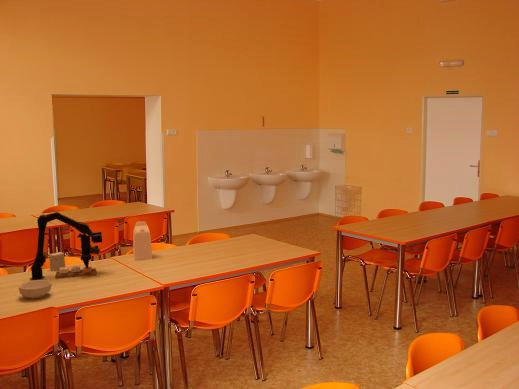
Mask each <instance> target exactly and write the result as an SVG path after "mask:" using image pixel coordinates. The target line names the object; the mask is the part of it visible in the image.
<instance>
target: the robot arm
mask: <svg viewBox="0 0 519 389" xmlns="http://www.w3.org/2000/svg"><path fill="white" fill-rule="evenodd" d="M55 220H58V221H60V222H62V223H64V224H66V225H68V226H70V227H73V228H74V229H76V230H77V231H78V232H79V234H77V238H80V250H81V252H80V253H81V255H80V261H82V263H83V264H84V267H86V268H88V267H89V266H90V265H89V264H90V260H92V255H93V254H96V255H98V256H99V255H100V252H101V248H100V247H99V246H98V245H94V246H92V244H91V242H92V243H93V244H97V243H99V244H100V243H103V234H102V231H97V232H96V231H95V232H94V231H93V230H92V229H91V228H90V225H89V224H88V223H86V222H82V221H77V220H75V219H73V218H70V217H68V216H67V215H64V214H62V213H60V212H59V211H55V212H52V213H48V214H40V215H39V216H38V218H37V228H38V236H37V249H36V253H35V259H34V261H33V263H32V265H31V267H30V269H31V270H30V271H31V278H29V280H30V281H34V280H43V279H44V278H45V277H46V276H44V275H43V268H42V267H43V266H44V265H45V263H46V261H47V254H45V238H46V229H47V225H48V223H49V222H53V221H55Z"/></svg>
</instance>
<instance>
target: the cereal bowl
mask: <svg viewBox="0 0 519 389" xmlns="http://www.w3.org/2000/svg"><path fill="white" fill-rule="evenodd" d="M51 290H52V282H51V281H50V280H47V279H40V280H30V281H25V282H22V283H21V284H19V285H18V291H19V294H20V295H21V296H22V297H25V298H28V299H32V300H35V299H39V298H43V297H44V296H46V295H47V294H48V293H50V292H51Z"/></svg>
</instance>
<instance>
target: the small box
mask: <svg viewBox="0 0 519 389" xmlns="http://www.w3.org/2000/svg"><path fill="white" fill-rule="evenodd" d="M48 257H49V259H48V260H49V270H50V269H51V270H50V271H54V272H57V271H59V269H60V268H62V267H66V260H65V253H64V252H61V251H59V252H54V253H50V254H48ZM56 270H57V271H56Z"/></svg>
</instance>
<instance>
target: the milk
mask: <svg viewBox="0 0 519 389" xmlns="http://www.w3.org/2000/svg"><path fill="white" fill-rule="evenodd" d="M132 235H133V236H132V237H133V238H132V239H133V240H132V242H133V244H132V245H133V246H132V247H133V251H132V253H133V256H132V257H133V259H134V261H144V260H146V261H147V260H153V250H152V249H153V248H152V240H151V239H152V236H151V232H150V229H149V226H148V224H147V222H146V221H136V223H135V226H134V228H133V232H132Z"/></svg>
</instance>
